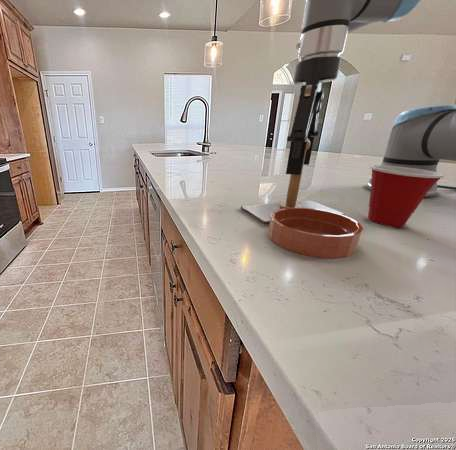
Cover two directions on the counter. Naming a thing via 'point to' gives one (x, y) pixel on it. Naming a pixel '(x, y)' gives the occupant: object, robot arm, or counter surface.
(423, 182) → the plastic cup
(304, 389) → the counter surface
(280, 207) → the stirrer
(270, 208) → the board
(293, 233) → the bowl
